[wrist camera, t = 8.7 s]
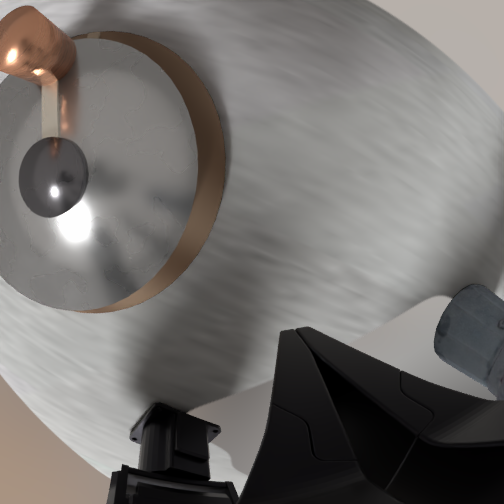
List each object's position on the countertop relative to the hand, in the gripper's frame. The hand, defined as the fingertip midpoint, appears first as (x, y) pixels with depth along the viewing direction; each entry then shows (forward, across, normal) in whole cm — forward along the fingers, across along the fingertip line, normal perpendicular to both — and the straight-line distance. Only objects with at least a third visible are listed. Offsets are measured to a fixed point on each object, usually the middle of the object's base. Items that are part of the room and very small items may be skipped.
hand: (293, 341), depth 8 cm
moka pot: (+11, -23, +11) cm, 28 cm away
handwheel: (+10, +10, -6) cm, 15 cm away
